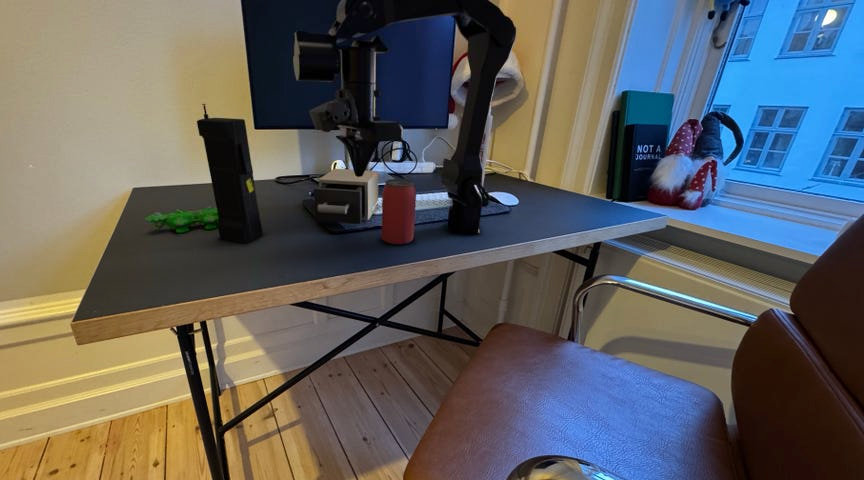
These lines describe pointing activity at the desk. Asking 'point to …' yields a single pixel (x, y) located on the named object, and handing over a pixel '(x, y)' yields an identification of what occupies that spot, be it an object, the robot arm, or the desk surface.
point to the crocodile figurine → (185, 219)
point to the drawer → (340, 203)
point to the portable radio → (231, 177)
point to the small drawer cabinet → (349, 178)
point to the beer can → (398, 211)
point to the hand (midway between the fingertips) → (358, 176)
